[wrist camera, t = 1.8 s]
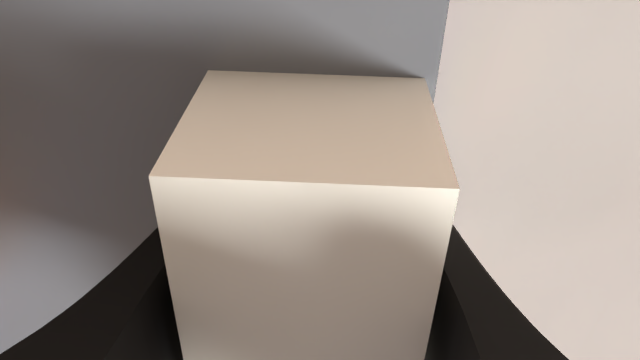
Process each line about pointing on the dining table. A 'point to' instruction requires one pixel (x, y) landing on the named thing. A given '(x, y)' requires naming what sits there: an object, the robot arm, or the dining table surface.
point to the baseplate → (146, 114)
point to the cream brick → (305, 217)
